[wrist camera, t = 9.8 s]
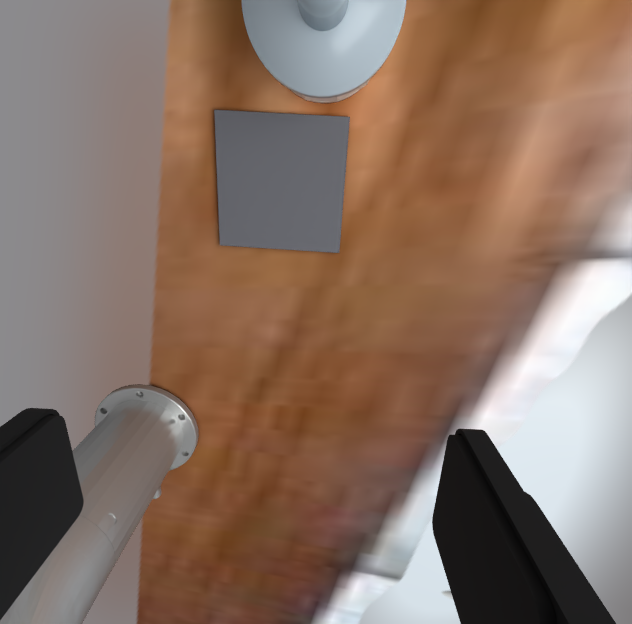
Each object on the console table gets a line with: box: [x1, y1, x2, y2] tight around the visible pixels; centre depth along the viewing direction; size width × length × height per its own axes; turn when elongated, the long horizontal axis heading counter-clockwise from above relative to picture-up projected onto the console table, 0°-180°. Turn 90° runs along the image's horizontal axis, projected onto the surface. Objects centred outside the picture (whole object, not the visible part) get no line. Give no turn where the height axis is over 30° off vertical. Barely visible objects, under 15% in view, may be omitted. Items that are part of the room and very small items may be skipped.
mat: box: [214, 110, 350, 253], centre depth 34 cm, size 12×12×1 cm
